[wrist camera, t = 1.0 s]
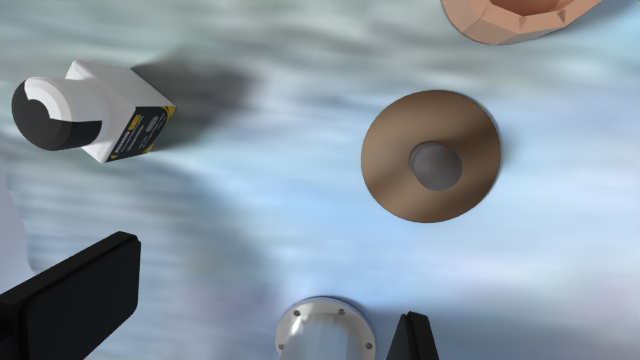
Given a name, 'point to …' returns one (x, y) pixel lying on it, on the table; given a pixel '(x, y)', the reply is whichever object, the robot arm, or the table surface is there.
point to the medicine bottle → (92, 111)
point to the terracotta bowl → (512, 18)
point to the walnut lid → (430, 156)
